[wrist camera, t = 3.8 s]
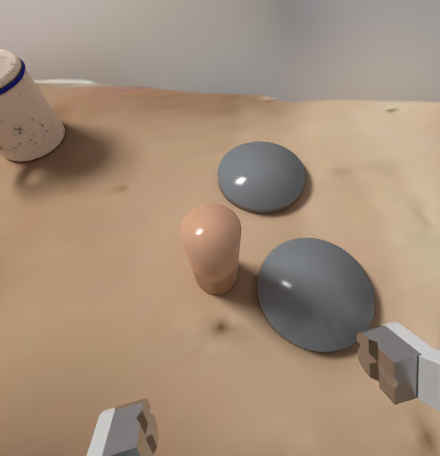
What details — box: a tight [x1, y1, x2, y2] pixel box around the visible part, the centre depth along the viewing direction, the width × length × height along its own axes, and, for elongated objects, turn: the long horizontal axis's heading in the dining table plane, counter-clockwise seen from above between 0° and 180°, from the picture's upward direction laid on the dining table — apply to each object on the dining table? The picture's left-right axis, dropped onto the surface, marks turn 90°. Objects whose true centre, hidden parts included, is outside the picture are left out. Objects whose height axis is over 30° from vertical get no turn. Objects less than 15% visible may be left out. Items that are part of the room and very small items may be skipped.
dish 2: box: [257, 238, 375, 352], centre depth 22 cm, size 10×10×1 cm
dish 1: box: [218, 142, 306, 214], centre depth 29 cm, size 10×10×1 cm
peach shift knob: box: [180, 203, 241, 295], centre depth 20 cm, size 4×4×9 cm
